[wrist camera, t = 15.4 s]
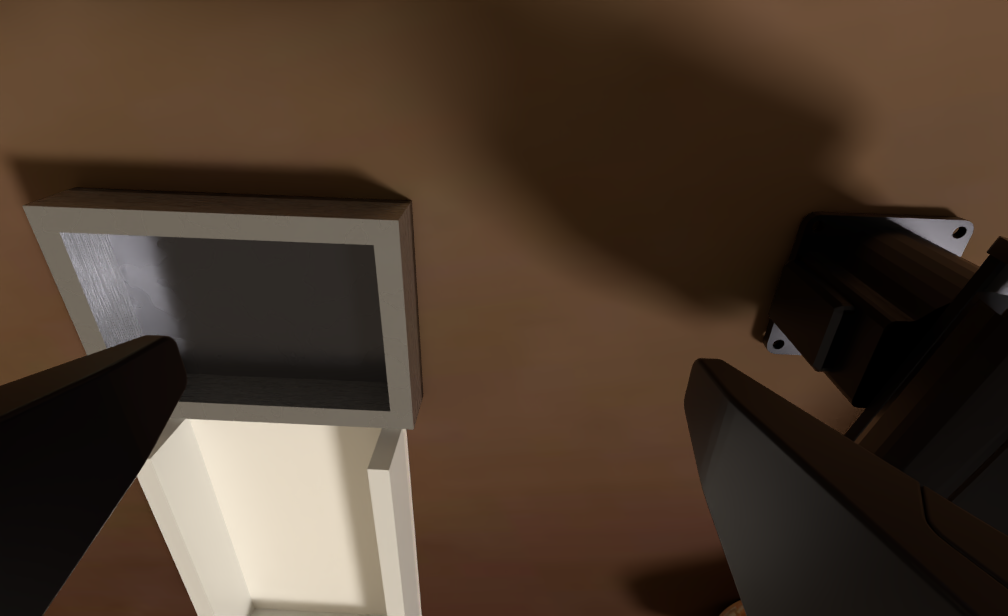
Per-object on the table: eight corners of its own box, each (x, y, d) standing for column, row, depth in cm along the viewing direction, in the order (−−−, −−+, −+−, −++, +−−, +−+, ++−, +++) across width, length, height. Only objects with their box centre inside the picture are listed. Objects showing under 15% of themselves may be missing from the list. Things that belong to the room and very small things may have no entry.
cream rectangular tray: (404, 409, 26) (388, 462, 23) (421, 616, 35) (411, 675, 32) (173, 399, 26) (125, 449, 23) (247, 607, 35) (219, 664, 32)
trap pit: (411, 200, 21) (398, 220, 19) (423, 395, 26) (413, 429, 23) (74, 187, 21) (22, 205, 19) (148, 383, 26) (113, 415, 24)
